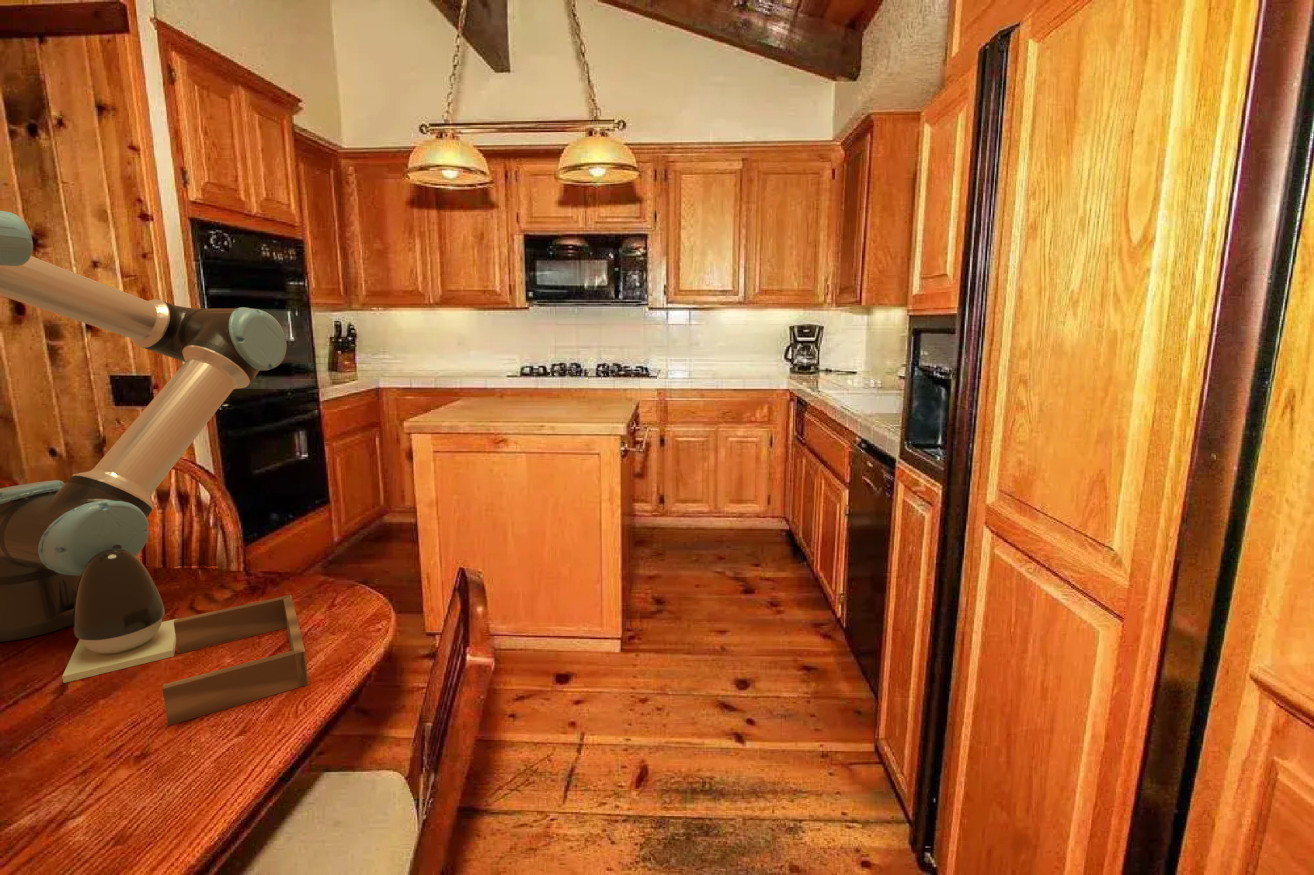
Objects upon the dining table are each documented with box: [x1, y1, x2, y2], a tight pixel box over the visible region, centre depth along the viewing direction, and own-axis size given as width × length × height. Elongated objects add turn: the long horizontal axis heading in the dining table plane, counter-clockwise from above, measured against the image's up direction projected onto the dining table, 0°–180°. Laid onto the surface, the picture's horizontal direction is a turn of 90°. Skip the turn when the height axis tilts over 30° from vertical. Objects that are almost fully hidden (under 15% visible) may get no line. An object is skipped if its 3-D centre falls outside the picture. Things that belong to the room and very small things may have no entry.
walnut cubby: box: [162, 594, 310, 726], centre depth 87 cm, size 21×15×5 cm
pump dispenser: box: [72, 545, 165, 654], centre depth 90 cm, size 10×10×15 cm
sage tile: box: [61, 618, 177, 684], centre depth 91 cm, size 12×12×1 cm
